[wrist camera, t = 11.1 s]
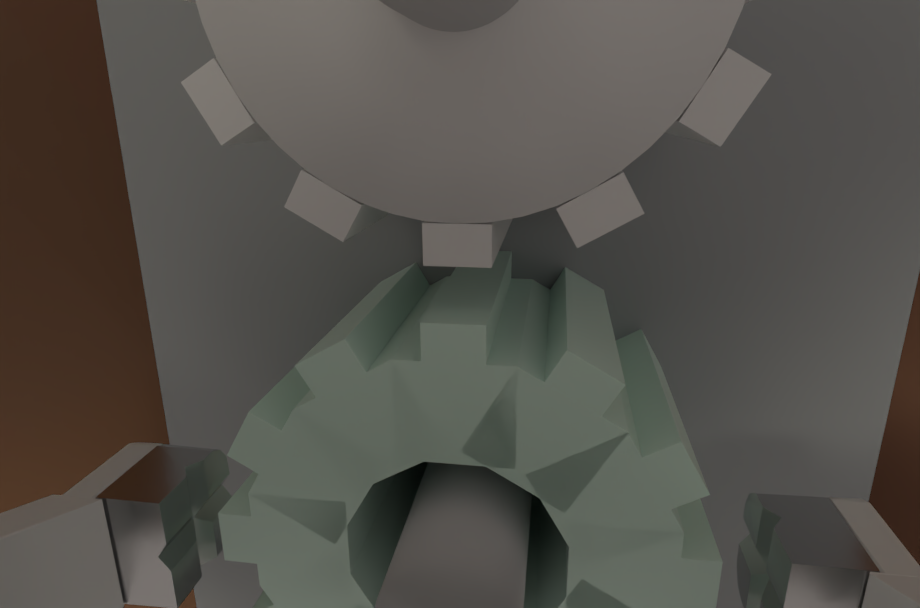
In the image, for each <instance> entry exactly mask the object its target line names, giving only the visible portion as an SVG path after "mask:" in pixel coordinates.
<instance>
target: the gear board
mask: <svg viewBox="0 0 920 608" xmlns="http://www.w3.org/2000/svg"><path fill="white" fill-rule="evenodd" d="M96 1H97V7H98V13H99V19H100V25H101V31H102V37H103V43H104V49H105V55H106V61H107V67H108V73H109V80H110V86H111V92H112V98H113V104H114V110H115V116H116V122H117V128H118V134H119V140H120V146H121V152H122V158H123V164H124V170H125V176H126V182H127V188H128V194H129V200H130V207H131V213H132V219H133V225H134V231H135V237H136V243H137V249H138V255H139V261H140V267H141V273H142V279H143V285H144V291H145V297H146V303H147V309H148V315H149V321H150V327H151V334H152V340H153V346H154V352H155V358H156V364H157V370H158V376H159V382H160V388H161V394H162V400H163V406H164V412H165V418H166V424H167V430H168V436H169V442H170V445H179V446H189V447H199V448H209V449H218V450H221V451H222V452H223V453H224V454H225V455H226V456H227V454H228V452H229V450H230V448H231V446H232V444H233V442H234V440H235V438H236V436H237V434H238V432H239V430H240V428H241V426H242V424H243V422H244V420H245V418H246V416H247V414H248V412H249V411H250V410H251V409H252V408H253V407H254V406H255V405H256V404H257V403H258V402H259V401H260V400H261V399H262V398H263V397H264V396H265V395H266V394H267V393H268V392H269V391H270V390H271V389H272V388H273V387H274V386H275V385H276V384H277V383H278V382H279V381H280V380H282V379H283V378H284V377H285V376H286V375H287V374H288V373H289V372H290V371H291V370H292V369H293V368H294V367H295V366H294V365H296V364H297V363H298V362H299V361H300V360H301V359H302V358H303V357H304V356H305V355H306V354H307V353H308V352H309V351H310V350H311V349H312V348H313V347H314V346H315V345H316V344H317V343H318V342H319V341H320V340H321V339H322V338H323V337H324V336H325V335H326V334H327V333H328V332H329V331H330V330H331V329H333V328H334V327H335V326H336V325H337V324H338V323H339V322H340V321H341V320H342V319H343V318H344V317H345V316H346V315H347V314H348V313H349V312H350V311H351V310H352V309H353V308H354V307H355V306H356V305H357V304H358V303H359V302H360V301H361V300H362V299H363V298H364V297H365V296H366V295H367V294H368V293H370V292H371V291H372V290H373V289H374V288H375V287H376V286H377V285H378V284H379V283H380V282H381V281H383V280H385V279H387V278H388V277H390V276H392V275H394V274H396V273H397V272H399V271H401V270H403V269H405V268H406V267H408V266H410V265H412V264H414V263H415V262H416V263H417V265H418V266H419V268H420V270H421V271H422V273H423V275H424V276H425V278H426V280H427V281H428V283H429V285H432V284H433V283H435V282H437V281H439V280H441V279H443V278H445V277H446V276H451V274H452V273H453V271H454V270H455V268H456V267H478V268H492V266H493V263H494V261H495V259H496V256H497V254H498V252H499V251H512V268H511V278H516V279H533V280H535V281H536V282H538V283H540V284H541V285H543V286H545V287H546V288H548V289H551V288H552V286H553V285H554V283H555V282H556V280H557V279H558V277H559V276H560V274H561V273H562V271H563V270H564V268H565V267H566V268H568V269H570V270H571V271H573V272H575V273H576V274H578V275H580V276H581V277H583V278H585V279H586V280H588V281H590V282H591V283H593V284H595V285H596V286H598V287H600V288H601V289H603V290H604V293H605V297H606V301H607V306H608V310H609V314H610V319H611V323H612V327H613V332H614V336H615V341H616V340H618V339H620V338H622V337H625V336H627V335H629V334H631V333H633V332H635V331H638V330H640V329H642V331H643V333H644V335H645V337H646V339H647V341H648V342H649V344H650V346H651V348H652V350H653V352H654V354H655V356H656V358H657V359H658V361H659V363H660V365H661V367H662V370H663V373H664V375H665V378H666V381H667V383H668V386H669V388H670V391H671V394H672V396H673V399H674V402H675V404H676V407H677V409H678V412H679V415H680V417H681V420H682V422H683V425H684V428H685V430H686V433H687V436H688V438H689V441H690V443H691V446H692V449H693V451H694V454H695V457H696V459H697V462H698V464H699V467H700V470H701V472H702V475H703V478H704V480H705V483H706V485H707V488H708V491H709V493H710V495H708V496H706V497H703V498H700V499H701V502H702V505H703V508H704V510H705V513H706V516H707V519H708V522H709V525H710V527H711V530H712V533H713V536H714V539H715V542H716V544H717V547H718V550H719V553H720V556H721V559H722V561H723V564H722V571H721V578H720V584H719V591H718V598H717V605H716V608H744V607H743V604H742V601H741V598H740V593H739V589H738V584H737V556H738V548H739V543H740V542H741V541H742V540H744V539H745V538H746V537H747V536H748V535H749V534H750V533H749V530H748V528H747V526H746V523H745V521H744V519H743V514H744V508H745V502H746V500H747V498H748V495H749V493H758V494H776V495H794V496H812V497H838V498H860V499H864V500H866V501H867V502H868V501H869V497H870V492H871V488H872V483H873V479H874V474H875V470H876V465H877V461H878V456H879V452H880V447H881V443H882V438H883V434H884V429H885V425H886V420H887V416H888V411H889V407H890V402H891V398H892V393H893V389H894V384H895V379H896V375H897V370H898V366H899V361H900V357H901V352H902V348H903V343H904V339H905V334H906V330H907V325H908V321H909V316H910V312H911V307H912V303H913V298H914V294H915V289H916V285H917V280H918V276H919V271H920V0H96ZM227 462H228V467H229V473H230V474H229V475H228V477H227V478H226V480H225V482H224V483H223V486H224V487H225V488H226V490H227V491H228V492H229V493H230V495H231V496H233V495H234V494H235V492H236V491H237V490H238V489H239V488H240V487H241V485H242V484H243V483H244V482H245V481H246V479H247V478H248V477H249V476H250V475H251V473H252V472H253V470H251V469H249V468H247V467H246V466H244V465H242V464H241V463H239V462H237V461H235V460H234V459H232V458H230V457H229V456H227ZM531 503H532V494H531V493H530V492H528V491H526V490H525V489H523V488H521V487H519V486H518V485H516V484H514V483H513V482H511V481H509V480H508V479H506V478H504V477H502V476H501V475H499V474H497V473H496V472H494V471H492V470H491V469H489V468H487V467H485V466H473V465H460V464H447V463H435V462H428V464H427V467H426V469H425V472H424V475H423V477H422V480H421V483H420V485H419V488H418V491H417V493H416V496H415V499H414V501H413V504H412V507H411V509H410V512H409V515H408V517H407V520H406V523H405V525H404V528H403V531H402V533H401V536H400V539H399V541H398V544H397V547H396V549H395V552H394V555H393V557H392V560H391V563H390V565H389V568H388V571H387V573H386V576H385V579H384V582H383V584H382V587H381V590H380V592H379V595H378V598H377V600H376V605H375V608H524V595H525V582H526V569H527V556H528V542H529V529H530V516H531ZM201 572H202V577H201V579H200V580H199V581H198V582H197V584H196V585H195V586H194V594H195V600H196V606H197V608H253V606H254V605H255V603H256V602H257V600H258V598H259V597H260V595H261V593H262V592H263V589H262V588H261V586H260V584H259V576H258V568H257V564H254V563H245V562H236V561H226V560H225V559H224V552H223V549H222V551H221V552H220V554H219V555H218V556H217V557H215V558H213V559H212V560H210V561H208V562H206V563H204V564H202V565H201Z"/></svg>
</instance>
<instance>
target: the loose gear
mask: <svg viewBox="0 0 920 608" xmlns="http://www.w3.org/2000/svg"><path fill="white" fill-rule="evenodd" d="M511 268H512V251H499V252H498V254H497V256H496V259H495V261H494V263H493V266H492V268H478V267H456V268H455V270H454V271H453V273H452V274H451V276H446V277H445V278H443V279H441V280H439V281H437V282H435V283H433V284H432V285H429V283H428V281H427V280H426V278H425V276H424V275H423V273H422V271H421V270H420V268H419V266H418V265H417V263H416V262H415V263H414V264H412V265H410V266H408V267H406V268H405V269H403V270H401V271H399V272H397V273H396V274H394V275H392V276H390V277H388V278H387V279H385V280H383V281H381V282H380V283H379V284H378V285H377V286H376V287H375V288H374V289H373V290H372V291H371V292H370V293H368V294H367V295H366V296H365V297H364V298H363V299H362V300H361V301H360V302H359V303H358V304H357V305H356V306H355V307H354V308H353V309H352V310H351V311H350V312H349V313H348V314H347V315H346V316H345V317H344V318H343V319H342V320H341V321H340V322H339V323H338V324H337V325H336V326H335V327H334V328H333V329H331V330H330V331H329V332H328V333H327V334H326V335H325V336H324V337H323V338H322V339H321V340H320V341H319V342H318V343H317V344H316V345H315V346H314V347H313V348H312V349H311V350H310V351H309V352H308V353H307V354H306V355H305V356H304V357H303V358H302V359H301V360H300V361H299V362H298V363H297V364H296V365H294V366H295V367H294V368H293V369H292V370H291V371H290V372H289V373H288V374H287V375H286V376H285V377H284V378H283V379H282V380H280V381H279V382H278V383H277V384H276V385H275V386H274V387H273V388H272V389H271V390H270V391H269V392H268V393H267V394H266V395H265V396H264V397H263V398H262V399H261V400H260V401H259V402H258V403H257V404H256V405H255V406H254V407H253V408H252V409H251V410H250V411H249V412H248V414H247V416H246V418H245V420H244V422H243V424H242V426H241V428H240V430H239V432H238V434H237V436H236V438H235V440H234V442H233V444H232V446H231V448H230V450H229V452H228V454H227V456H229V457H230V458H232V459H234V460H235V461H237V462H239V463H241V464H242V465H244V466H246V467H247V468H249V469H251V470H253V472H252V473H251V475H250V476H249V477H248V478H247V479H246V481H245V482H244V483H243V484H242V485H241V487H240V488H239V489H238V490H237V491H236V492H235V494H234V495H233V496H232V497H231V498H230V500H229V501H228V502H227V503H226V504H225V506H224V507H223V508H222V509H221V510H220V511H219V513H218V518H219V525H220V532H221V539H222V546H223V552H224V559H225V560H226V561H236V562H245V563H254V564H257V568H258V576H259V584H260V586H261V588H262V589H263V592H262V593H261V595H260V597H259V598H258V600H257V602H256V603H255V605H254V606H253V608H375V605H376V600H377V598H378V595H379V592H380V590H381V587H382V584H383V582H384V579H385V576H386V573H387V571H388V568H389V565H390V563H391V560H392V557H393V555H394V552H395V549H396V547H397V544H398V541H399V539H400V536H401V533H402V531H403V528H404V525H405V523H406V520H407V517H408V515H409V512H410V509H411V507H412V504H413V501H414V499H415V496H416V493H417V491H418V488H419V485H420V483H421V480H422V477H423V475H424V472H425V469H426V467H427V464H428V462H435V463H447V464H460V465H473V466H485V467H487V468H489V469H491V470H492V471H494V472H496V473H497V474H499V475H501V476H502V477H504V478H506V479H508V480H509V481H511V482H513V483H514V484H516V485H518V486H519V487H521V488H523V489H525V490H526V491H528V492H530V493H531V494H532V503H531V516H530V529H529V542H528V556H527V569H526V582H525V595H524V608H716V605H717V598H718V591H719V584H720V578H721V571H722V564H723V561H722V559H721V556H720V553H719V550H718V547H717V544H716V542H715V539H714V536H713V533H712V530H711V527H710V525H709V522H708V519H707V516H706V513H705V510H704V508H703V505H702V502H701V499H700V498H703V497H706V496H708V495H710V493H709V491H708V488H707V485H706V483H705V480H704V478H703V475H702V472H701V470H700V467H699V464H698V462H697V459H696V457H695V454H694V451H693V449H692V446H691V443H690V441H689V438H688V436H687V433H686V430H685V428H684V425H683V422H682V420H681V417H680V415H679V412H678V409H677V407H676V404H675V402H674V399H673V396H672V394H671V391H670V388H669V386H668V383H667V381H666V378H665V375H664V373H663V370H662V367H661V365H660V363H659V361H658V359H657V358H656V356H655V354H654V352H653V350H652V348H651V346H650V344H649V342H648V341H647V339H646V337H645V335H644V333H643V331H642V329H640V330H638V331H635V332H633V333H631V334H629V335H627V336H625V337H622V338H620V339H618V340H616V341H615V336H614V332H613V327H612V323H611V319H610V314H609V310H608V306H607V301H606V297H605V293H604V290H603V289H601V288H600V287H598V286H596V285H595V284H593V283H591V282H590V281H588V280H586V279H585V278H583V277H581V276H580V275H578V274H576V273H575V272H573V271H571V270H570V269H568V268H566V267H565V268H564V270H563V271H562V273H561V274H560V276H559V277H558V279H557V280H556V282H555V283H554V285H553V286H552V288H551V289H548V288H546V287H545V286H543V285H541V284H540V283H538V282H536V281H535V280H533V279H516V278H511Z"/></svg>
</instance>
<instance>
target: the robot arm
mask: <svg viewBox="0 0 920 608" xmlns="http://www.w3.org/2000/svg"><path fill="white" fill-rule="evenodd" d="M229 474H230V473H229V467H228V462H227V456H226V455H225V454H224V453H223V452H222V451H221V450H218V449H209V448H199V447H189V446H179V445H169V444H165V445H164V444H161V443H147V442H135V443H129V444H128V445H126V446H125V447H124V448H123V449H121V450H120V451H119V452H117V453H116V454H115V455H113V456H112V457H111V458H110V459H108V460H107V461H106V462H104V463H103V464H102V465H101V466H99V467H98V468H97V469H95V470H94V471H93V472H91V473H90V474H89V475H88V476H86V477H85V478H84V479H82V480H81V481H80V482H78V483H77V484H76V485H75V486H73V487H72V488H71V489H69V490H68V491H67V492H65V493H64V494H63V495H50V496H47V497H45V498H42V499H39V500H36V501H33V502H30V503H28V504H25V505H22V506H19V507H16V508H14V509H11V510H8V511H5V512H2V513H0V608H123V607H124V604H132V605H144V606H155V607H166V608H178V607H179V606H180V605H181V603H182V602H183V601H184V599H185V598H186V597H187V595H188V594H189V593H190V592H191V590H192V589H193V588H194V586H195V585H196V584H197V582H198V581H199V580H200V579H201V577H202V572H201V565H202V564H204V563H206V562H208V561H210V560H212V559H213V558H215V557H217V556H218V555H219V554H220V552H221V551H222V549H223V546H222V539H221V532H220V525H219V518H218V513H219V511H220V510H221V509H222V508H223V507H224V506H225V504H226V503H227V502H228V501H229V500H230V498H231V497H232V496H231V495H230V493H229V492H228V491H227V490H226V488H225V487H224V486H223V483H224V482H225V480H226V478H227V477H228V475H229ZM743 519H744V521H745V523H746V526H747V528H748V530H749V533H750V534H749V535H748V536H747V537H746V538H745V539H744V540H742V541H741V542H740V543H739V548H738V556H737V584H738V589H739V593H740V598H741V601H742V604H743V607H744V608H920V565H919V564H918V563H917V562H916V560H915V559H914V558H913V557H912V555H911V554H910V553H909V552H908V550H907V549H906V548H905V546H904V545H903V544H902V543H901V541H900V540H899V539H898V538H897V536H896V535H895V534H894V533H893V531H892V530H891V529H890V527H889V526H888V525H887V524H886V522H885V521H884V520H883V519H882V517H881V516H880V515H879V514H878V512H877V511H876V510H875V509H874V507H873V506H872V505H871V503H869V502H867V501H866V500H864V499H860V498H838V497H812V496H794V495H776V494H758V493H749V495H748V498H747V500H746V502H745V508H744V514H743Z"/></svg>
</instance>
